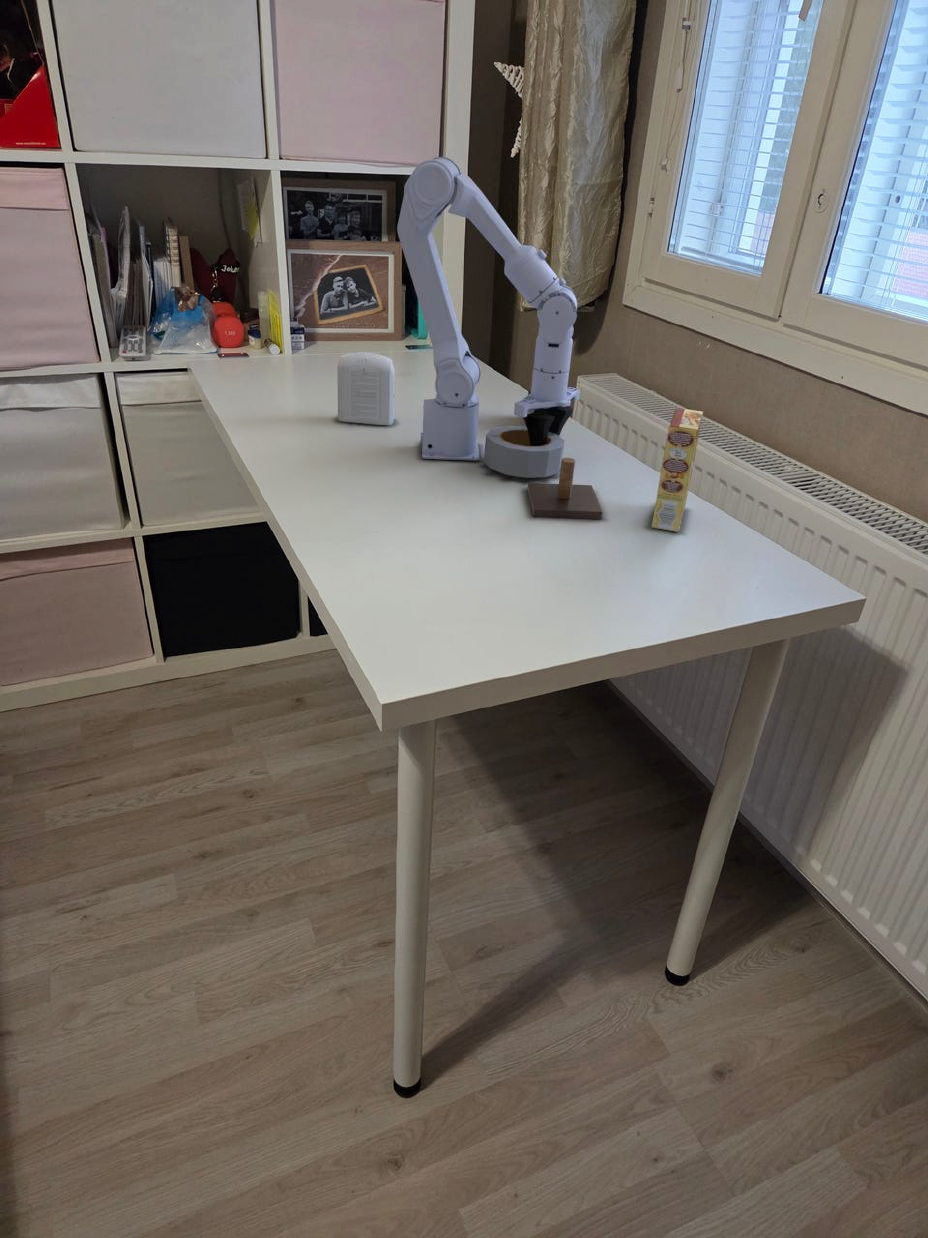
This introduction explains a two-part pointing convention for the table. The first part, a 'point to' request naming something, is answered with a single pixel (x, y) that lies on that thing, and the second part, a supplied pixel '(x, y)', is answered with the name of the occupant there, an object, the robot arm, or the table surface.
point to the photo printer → (366, 388)
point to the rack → (564, 497)
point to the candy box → (677, 469)
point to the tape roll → (522, 453)
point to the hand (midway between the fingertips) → (542, 450)
